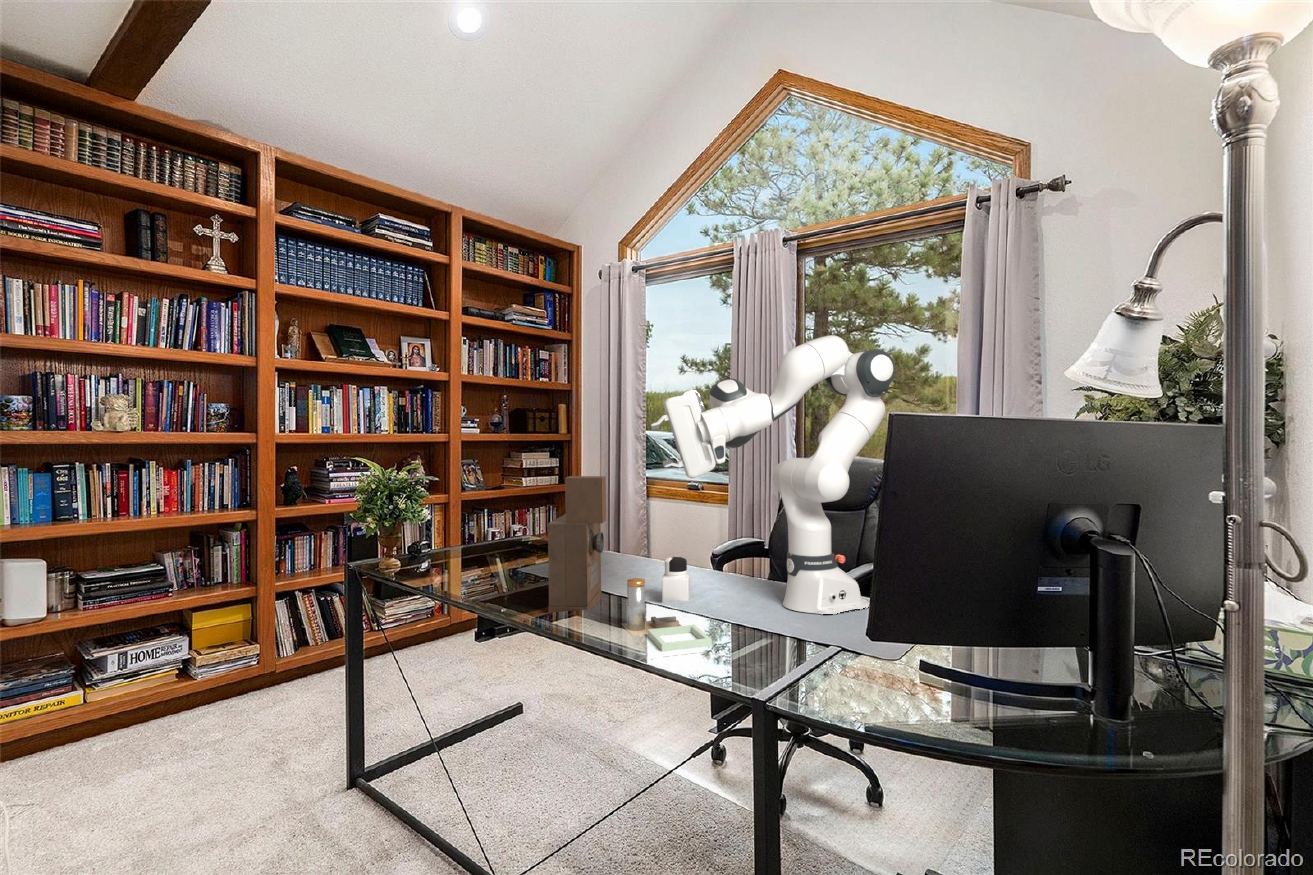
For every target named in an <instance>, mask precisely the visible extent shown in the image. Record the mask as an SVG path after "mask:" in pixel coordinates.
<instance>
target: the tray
mask: <svg viewBox="0 0 1313 875" xmlns="http://www.w3.org/2000/svg"><path fill="white" fill-rule="evenodd" d="M683 634H692V635H694V636H695V637H696V639H688V640H679V641H669V642H665V641H664V640H663V639H662V638H661V637H664V636H673V635H683ZM647 637H648V638H649V639H650V640H651V641H652V642H653V644H655V646H656V647H657V648H658V649H659V651H661V652H662V653H663V652H670V651H679V650H688V649H689V650H690V649H696V648H697V649H698V648H707V647H712V646H713V641H712V640H713V639H712V638H711V637H710V636H708V635H707V634H706V633H705V632H703V631H702V630H701V629H700V628H699V627H697V626H696V625H695V624H688V625H687V624H686V625H681V626H677V627H667V628H657V629H648V634H647ZM709 652H710V653H711V652H712V650H711V651H708V653H709ZM693 654H696V652H693V653H691V655H693ZM700 654H704V651H702V652H700ZM686 655H687V653H686V654H685V653H684V654H682V656H686ZM676 656H678V655H677V654H675V655H673V657H676ZM666 657H667V658H668V657H669V655H667V656H664V658H666Z"/></svg>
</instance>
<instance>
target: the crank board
mask: <svg viewBox="0 0 1313 875" xmlns="http://www.w3.org/2000/svg"><path fill="white" fill-rule="evenodd" d="M620 625H622V626H623V628H624V629H625V630H626V632H627V633H628V634H629V635H630V637H634V636H635V637H636V636H648V629H657V628H667V627H677V626H682V624H681V623H680V621H679V620H678V619H677V617H676V616H675V615H674V616H663V617H656V616H651V617H650V620H645V629H644V630H641V631H631V630H628V622H622V623H621V622H620Z"/></svg>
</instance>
